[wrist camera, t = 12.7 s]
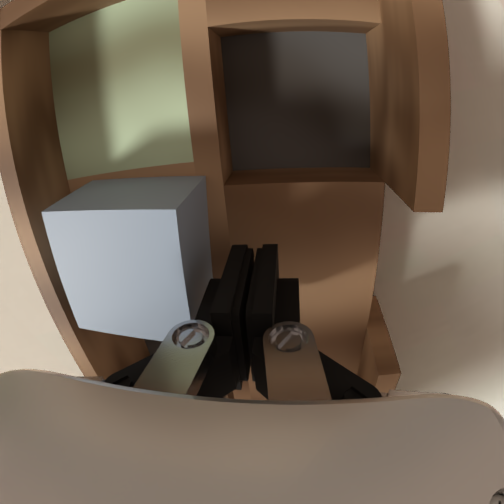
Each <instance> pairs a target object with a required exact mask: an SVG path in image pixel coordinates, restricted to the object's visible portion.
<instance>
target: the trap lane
mask: <svg viewBox="0 0 504 504" xmlns="http://www.w3.org/2000/svg"><path fill="white" fill-rule="evenodd" d="M450 117H451V91H450V65H449V51H448V40H447V31H446V22H445V15H444V8H443V2H442V0H13V1H11V2H10V3H8V4H7V5H5V6H4V7H3V8H1V9H0V172H1V177H2V181H3V185H4V189H5V193H6V197H7V200H8V204H9V207H10V211H11V214H12V217H13V221H14V224H15V227H16V230H17V233H18V236H19V239H20V242H21V245H22V248H23V250H24V253H25V256H26V258H27V261H28V264H29V266H30V269H31V271H32V274H33V276H34V279H35V281H36V283H37V286H38V288H39V290H40V293H41V295H42V297H43V299H44V301H45V304H46V306H47V308H48V310H49V312H50V314H51V316H52V318H53V320H54V322H55V324H56V326H57V328H58V330H59V332H60V334H61V336H62V338H63V340H64V342H65V343H66V345H67V347H68V349H69V351H70V353H71V354H72V356H73V358H74V360H75V361H76V363H77V365H78V366H79V368H80V370H81V371H82V373H83V375H84V376H85V377H93V376H103V378H104V380H106V379H107V378H108V377H109V376H110V375H112V374H113V373H115V372H117V371H119V370H121V369H124V368H126V367H128V366H130V365H132V364H134V363H136V362H138V361H140V360H142V359H144V358H146V357H148V356H150V355H152V354H154V353H155V352H156V351H157V349H158V348H159V346H160V345H161V343H162V342H163V341H157V340H149V339H142V338H135V337H129V336H122V335H116V334H110V333H104V332H99V331H93V330H88V329H82V328H79V326H78V324H77V322H76V319H75V317H74V314H73V312H72V309H71V306H70V304H69V301H68V298H67V296H66V293H65V290H64V287H63V284H62V281H61V278H60V276H59V272H58V269H57V266H56V263H55V260H54V257H53V253H52V250H51V247H50V243H49V239H48V236H47V232H46V228H45V224H44V220H43V216H42V211H44V210H45V209H47V208H48V207H50V206H51V205H53V204H54V203H56V202H58V201H59V200H61V199H62V198H64V197H65V196H67V195H69V194H70V193H72V192H74V191H75V190H77V189H79V188H80V187H82V186H84V185H85V184H87V183H89V182H91V181H92V180H105V179H121V178H140V177H166V176H206V191H207V207H208V222H209V236H210V249H211V262H212V274H213V278H219V279H221V277H222V274H223V271H224V268H225V265H226V262H227V259H228V256H229V253H230V250H231V247H232V245H243V244H247V245H248V248H253V251H254V262H255V257H256V251H257V248H262V246H263V244H278V260H279V278H299V301H300V323H301V324H303V325H306V326H307V327H308V328H309V329H311V331H312V333H313V334H314V337H315V341H316V344H317V348H318V350H319V351H320V352H322V353H323V354H325V355H326V356H328V357H330V358H331V359H333V360H334V361H336V362H337V363H339V364H340V365H342V366H343V367H345V368H347V369H348V370H350V371H351V372H353V373H354V374H356V375H358V376H359V377H361V378H362V379H364V380H365V381H367V382H369V383H370V384H372V385H373V386H374V387H376V388H377V389H378V390H379V392H385V393H388V391H389V389H391V390H395V388H396V385H397V383H398V380H399V377H400V375H401V371H400V368H399V364H398V361H397V358H396V354H395V351H394V348H393V345H392V342H391V339H390V336H389V333H388V330H387V327H386V324H385V321H384V318H383V315H382V312H381V309H380V306H379V304H378V301H377V298H376V296H373V290H374V284H375V277H376V270H377V262H378V254H379V246H380V237H381V227H382V216H383V204H384V190H385V183H386V184H387V185H388V186H389V187H390V188H391V189H392V190H393V191H394V192H395V193H396V194H397V195H398V196H399V197H400V198H401V199H402V200H403V201H404V202H405V203H406V204H407V205H408V206H409V207H410V208H411V210H412V211H413V212H443V205H444V198H445V190H446V181H447V171H448V159H449V144H450ZM228 399H245V400H267V399H266V398H265V397H264V396H263V395H262V394H260V393H259V392H258V391H257V390H256V385H255V382H254V381H252V373H251V366H250V373H249V380H248V381H243V383H242V389H241V390H234V391H232V392H230V393H229V394H228Z"/></svg>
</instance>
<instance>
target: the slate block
mask: <svg viewBox="0 0 504 504" xmlns="http://www.w3.org/2000/svg"><path fill="white" fill-rule="evenodd" d="M42 216H43V220H44V224H45V228H46V232H47V236H48V239H49V243H50V247H51V250H52V253H53V257H54V260H55V263H56V266H57V269H58V272H59V276H60V278H61V281H62V284H63V287H64V290H65V293H66V296H67V298H68V301H69V304H70V306H71V309H72V312H73V314H74V317H75V319H76V322H77V324H78V326H79V328H82V329H88V330H93V331H99V332H104V333H110V334H116V335H122V336H129V337H135V338H142V339H149V340H157V341H163V340H164V338H165V337H166V335H167V334H168V332H169V331H170V330H171V329H172V328H173V327H174V326H175V325H177V324H179V323H181V322H184V321H187V320H195V317H196V315H197V312H198V309H199V307H200V304H201V301H202V299H203V296H204V293H205V291H206V288H207V285H208V283H209V281H210V279H212V278H213V274H212V262H211V249H210V236H209V222H208V207H207V191H206V176H166V177H140V178H121V179H105V180H92V181H91V182H89V183H87V184H85V185H84V186H82V187H80V188H79V189H77V190H75V191H74V192H72V193H70V194H69V195H67V196H65V197H64V198H62V199H61V200H59V201H58V202H56V203H54V204H53V205H51V206H50V207H48V208H47V209H45V210H44V211H42Z"/></svg>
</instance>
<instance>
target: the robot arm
mask: <svg viewBox="0 0 504 504" xmlns="http://www.w3.org/2000/svg"><path fill="white" fill-rule="evenodd" d="M250 366H251V373H252V381H254V382H255V385H256V390H257V391H258V392H259V393H260V394H262V395H263V396H264V397H265V398H266V399H267V400H245V399H228V394H229V393H230V392H232V391H234V390H241V389H242V383H243V381H248V380H249V373H250ZM0 504H504V419H503V417H502V416H501V414H500V413H499V412H498V411H497V410H496V409H495V408H494V407H493V406H491V405H489V404H488V403H485V402H483V401H480V400H477V399H474V398H470V397H464V396H458V395H451V394H446V393H431V392H415V391H402V390H391V389H389V391H388V393H385V392H379V390H378V389H377V388H376V387H374V386H373V385H372V384H370V383H369V382H367V381H365V380H364V379H362V378H361V377H359V376H358V375H356V374H354V373H353V372H351V371H350V370H348V369H347V368H345V367H343V366H342V365H340V364H339V363H337V362H336V361H334V360H333V359H331V358H330V357H328V356H326V355H325V354H323V353H322V352H320V351H319V350H318V348H317V344H316V341H315V337H314V334H313V333H312V331H311V329H309V328H308V327H307V326H306V325H303V324H301V323H300V301H299V278H279V260H278V244H263V246H262V248H257V251H256V257H255V262H254V251H253V248H248V245H247V244H243V245H232V247H231V250H230V253H229V256H228V259H227V262H226V265H225V268H224V271H223V274H222V277H221V279H219V278H212V279H210V281H209V283H208V285H207V288H206V291H205V293H204V296H203V299H202V301H201V304H200V307H199V309H198V312H197V315H196V317H195V320H187V321H184V322H181V323H179V324H177V325H175V326H174V327H173V328H172V329H171V330H170V331H169V332H168V334H167V335H166V337H165V338H164V340H163V342H162V343H161V345H160V346H159V348H158V349H157V351H156V352H155V353H154V354H152V355H150V356H148V357H146V358H144V359H142V360H140V361H138V362H136V363H134V364H132V365H130V366H128V367H126V368H124V369H121V370H119V371H117V372H115V373H113V374H112V375H110V376H109V377H108V378H107V379H106V380H104V378H103V376H93V377H75V376H70V375H66V374H61V373H56V372H51V371H44V370H36V369H20V370H12V371H7V372H4V373H1V374H0Z"/></svg>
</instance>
